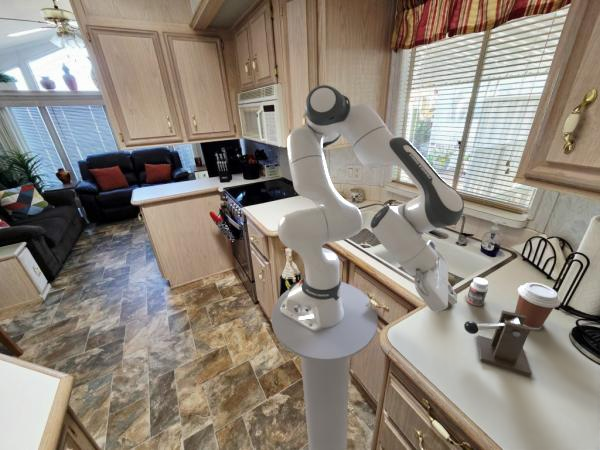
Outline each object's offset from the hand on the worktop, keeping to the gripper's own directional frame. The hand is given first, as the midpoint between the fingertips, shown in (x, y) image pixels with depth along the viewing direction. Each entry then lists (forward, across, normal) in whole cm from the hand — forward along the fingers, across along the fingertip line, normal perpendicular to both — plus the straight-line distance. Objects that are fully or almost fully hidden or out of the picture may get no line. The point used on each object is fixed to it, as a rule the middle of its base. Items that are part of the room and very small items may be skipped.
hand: (454, 300), depth 64 cm
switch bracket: (+20, +1, +1) cm, 20 cm away
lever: (+12, +1, -2) cm, 12 cm away
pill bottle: (+17, +22, +4) cm, 28 cm away
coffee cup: (+26, +18, -5) cm, 32 cm away
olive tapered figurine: (+10, +17, +12) cm, 23 cm away
